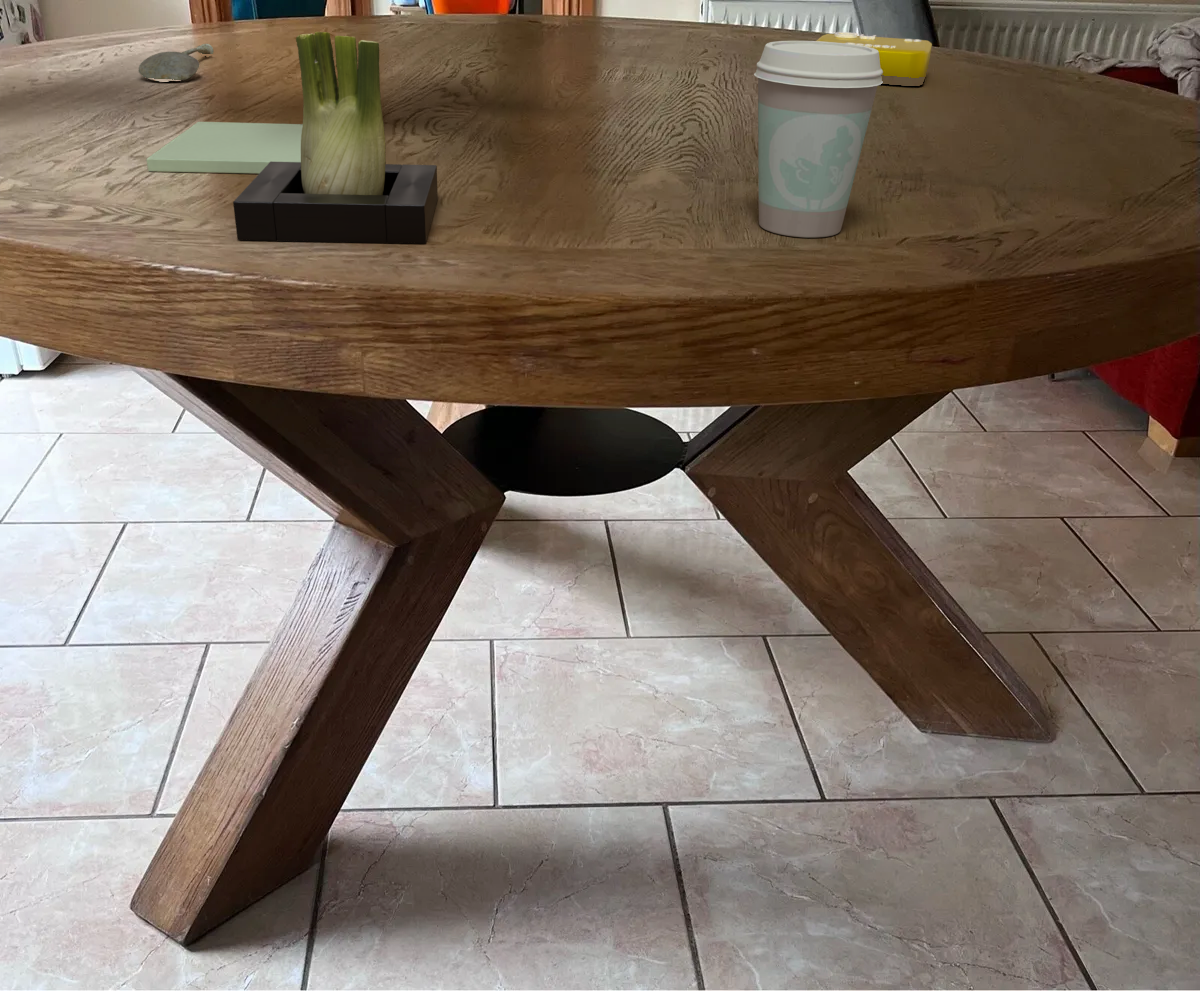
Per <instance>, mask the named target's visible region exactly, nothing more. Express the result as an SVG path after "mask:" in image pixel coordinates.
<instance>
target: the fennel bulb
mask: <svg viewBox="0 0 1200 991" xmlns="http://www.w3.org/2000/svg"><path fill="white" fill-rule="evenodd" d="M295 41H296V46H297V55H298V60H299V61H298V62H299V66H300V67H299V68H300V78H301V79H300V80H301V87H302V98H303V100H302V101H303V102H302V103H303V104H302V105H303V107H302V108H303V110H302V113H303V114H302V124H303V127H302V134H301V178H302V187H303V190H304V193H305V194H342V195H383V190H384V180H385V165H386V164H387V160H386V157H387V156H386V136H385V135H386V134H385V125H384V120H383V117H384V116H383V107H382V99H381V98H382V97H381V84H380V83H381V82H380V81H381V79H380V78H381V77H380V76H381V73H380V43H379V42H378V41H374V40H373V41H372V40H365V39H361V40H359V42H358V43H357V39H356V36H350V35H335V36H334V48H333V44H332V38H331V33H330V32H328V31H315V32H314V33H312V32H311V33H301V34H298V35H297V36H296V38H295ZM333 49H334V50H333ZM334 52H335V59H334ZM335 63H336V64H335Z"/></svg>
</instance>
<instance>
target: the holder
mask: <svg viewBox="0 0 1200 991" xmlns="http://www.w3.org/2000/svg"><path fill="white" fill-rule="evenodd" d="M438 194H439V193H438V165H436V164H399V163H398V164H397V163H396V164H395V163H386V165H385V180H384V190H383V195H342V194H305V193H304V190H303V187H302V178H301V162H270V163H269V164H268V165H267V166H266V167H265V168H264V169H263V170H262V171H261V172H260V173H259V174H257V175H256V176H255V177H254V179H253V180H252V181H251V182H250V183H249V184H248V185H247V186H246V188H244V190H243V191H242V192H241V193H240V194H238V196H237V197H236V198H235V199H234V200H233V202H232V205H233V214H234V220H235V221H234V222H235V229H236V239H237V241H249V242H250V241H253V242H254V241H255V242H301V243H302V242H304V243H350V244H351V243H352V244H353V243H359V244H360V243H361V244H363V243H364V244H412V245H413V244H415V245H417V244H419V245H425V244H427V240H428V236H429V233H430V229H431V227H432V222H433V218H434V215H435V210H436V206H437V203H438V199H439V197H438V196H439V195H438Z"/></svg>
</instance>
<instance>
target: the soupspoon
mask: <svg viewBox="0 0 1200 991" xmlns="http://www.w3.org/2000/svg"><path fill="white" fill-rule="evenodd" d="M197 52H198V53H199V54H201V53H202V54H213V55H214V53H215V51H214V47H213V46H212V45H211V44H210V43H202V44H201V45H197V46H196V47H193V48H190V49H187V50H184V51H182V52H180V51H161V52H158V53H155V54H153V55H151V56H149V57H147V58H145V59H144V60H143V61H141V62H140V63H139V67H138V69H137V70H138V73H139V74H140V75H141V76H142V77H143V78H145V77H146V78H154V79H172V80H173V79H174V80H183V81H186V80H188V79H190V78H192V77H193V76H194V75H195V74H196V73H197V72H198V70H199V68H200V62H199V60H198V59H197V58H196V57H193V56H192V54H194V53H197ZM146 78H145V79H146Z"/></svg>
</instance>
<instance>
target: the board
mask: <svg viewBox="0 0 1200 991" xmlns="http://www.w3.org/2000/svg"><path fill="white" fill-rule="evenodd" d="M302 127H303V123H266V122H264V123H263V122H229V121H228V122H226V121H225V122H223V121H196V122H195V123H194V124H193V125H191V126H190V127H189V128H187V129H186V130H184V131H183V132H182V133H180V134H179V135H178V136H176V137H175V138H173V139H172V140H171V141H169V142H167V144H165V145H163V146H162V147H160V148H159V149H158V150H157V151H155V152H154V153H152V154H151V155H150V156H148V157H147V158H146V159H145V160H146V168H147V171H148V172H158V173H159V172H160V173H199V174H200V173H203V174H205V173H206V174H207V173H208V174H209V173H210V174H213V173H214V174H248V175H249V174H251V175H252V174H253V175H259V173H260V172H261V171H262V170H263V169H264V168H265V167H266V166H267V165H268V164H269V163H270V162H301V134H302Z"/></svg>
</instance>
